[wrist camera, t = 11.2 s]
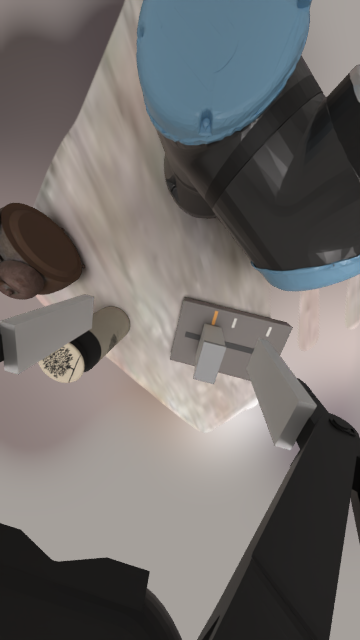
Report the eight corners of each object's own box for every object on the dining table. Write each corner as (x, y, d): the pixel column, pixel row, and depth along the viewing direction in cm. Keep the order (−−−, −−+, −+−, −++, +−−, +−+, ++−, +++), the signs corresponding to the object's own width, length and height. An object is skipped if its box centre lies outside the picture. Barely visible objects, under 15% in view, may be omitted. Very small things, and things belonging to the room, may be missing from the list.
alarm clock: (35, 229, 41) (-112, 205, 22) (61, 212, 39) (-76, 170, 20) (73, 291, 44) (-26, 317, 25) (98, 278, 42) (12, 295, 23)
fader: (195, 353, 41) (193, 378, 33) (204, 323, 39) (204, 341, 30) (212, 357, 41) (213, 384, 32) (221, 327, 38) (226, 347, 30)
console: (171, 353, 46) (169, 359, 43) (184, 297, 41) (183, 300, 38) (262, 376, 45) (266, 385, 42) (286, 322, 40) (293, 327, 37)
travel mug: (92, 324, 46) (26, 363, 29) (108, 299, 43) (46, 326, 27) (119, 344, 47) (70, 393, 30) (136, 320, 44) (93, 360, 27)
